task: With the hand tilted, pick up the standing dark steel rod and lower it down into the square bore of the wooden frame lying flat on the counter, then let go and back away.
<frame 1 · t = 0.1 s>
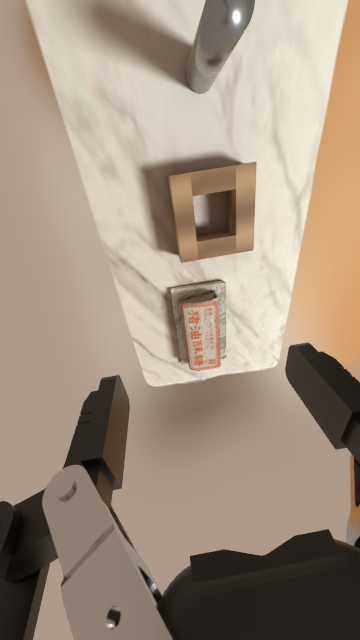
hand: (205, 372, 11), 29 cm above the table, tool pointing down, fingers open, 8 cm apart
packaged product: (199, 323, 45), on the table
wooden frame: (209, 213, 34), on the table
steel rod: (200, 73, 26), on the table
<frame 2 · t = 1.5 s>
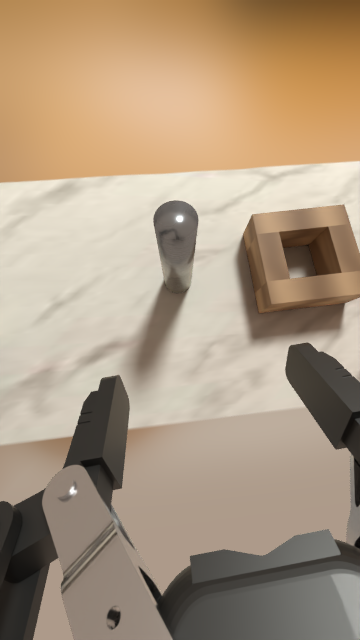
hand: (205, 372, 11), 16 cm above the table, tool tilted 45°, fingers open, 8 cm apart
wooden frame: (292, 267, 29), on the table
steel rod: (177, 280, 29), on the table
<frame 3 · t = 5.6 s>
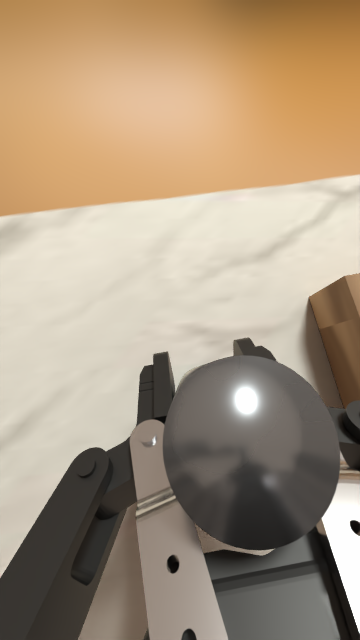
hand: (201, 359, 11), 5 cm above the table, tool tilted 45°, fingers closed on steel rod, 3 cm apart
steel rod: (202, 391, 16), on the table, touching gripper
when the fingers open (7 cm above the table, at t = 11.6 s): steel rod drops 2 cm, resting in wooden frame.
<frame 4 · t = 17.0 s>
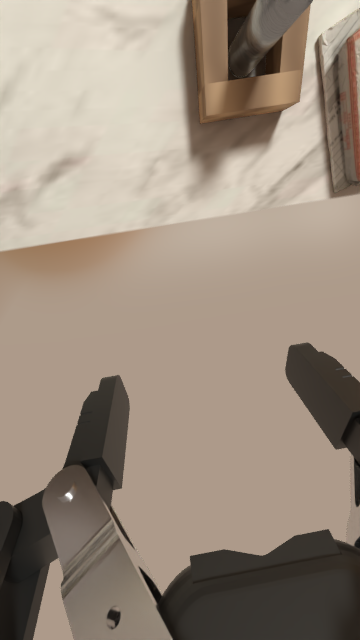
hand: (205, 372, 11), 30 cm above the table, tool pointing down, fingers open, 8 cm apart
packaged product: (358, 106, 30), on the table
wooden frame: (242, 55, 26), on the table
steel rod: (241, 56, 26), resting in wooden frame
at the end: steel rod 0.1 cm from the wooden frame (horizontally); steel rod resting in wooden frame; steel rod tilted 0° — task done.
